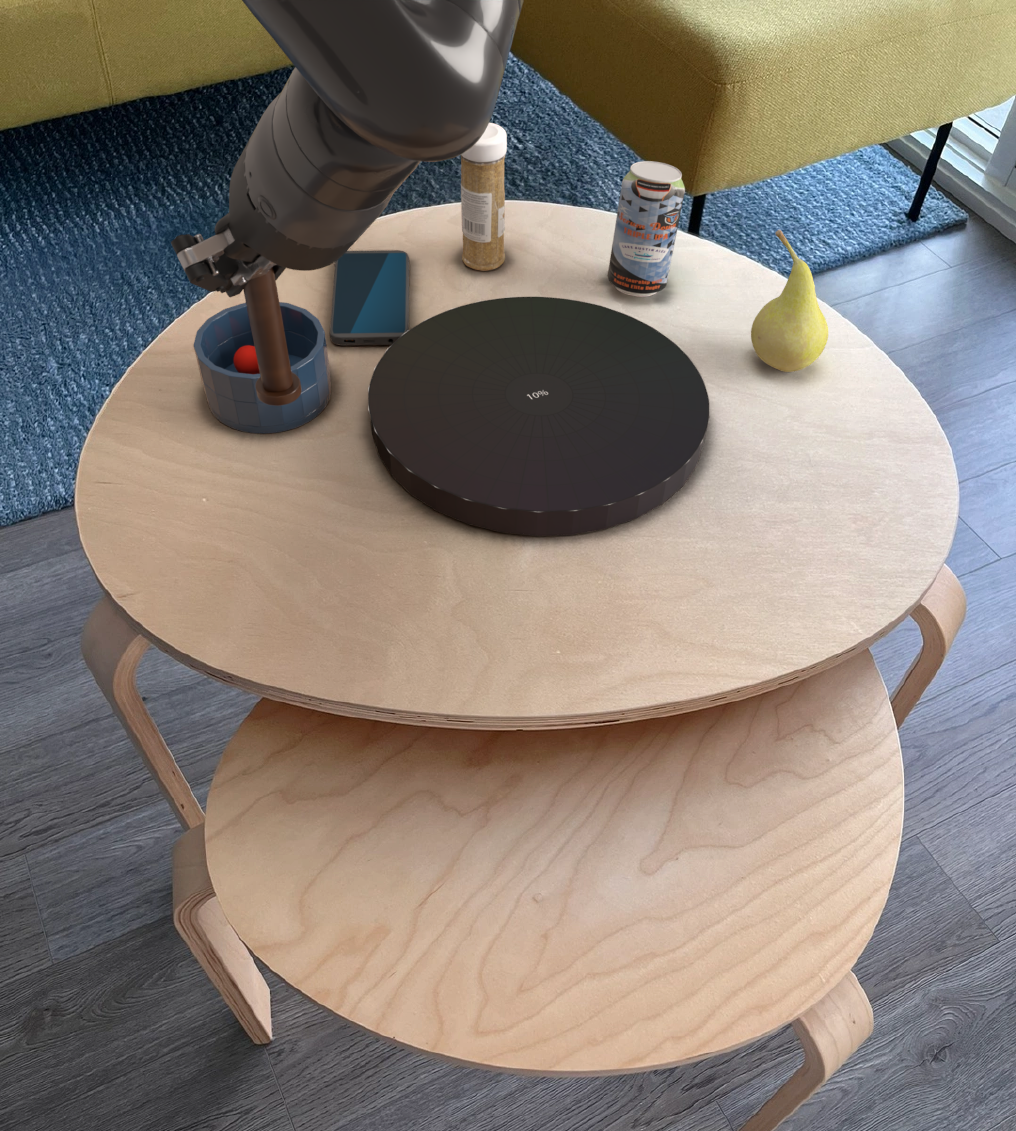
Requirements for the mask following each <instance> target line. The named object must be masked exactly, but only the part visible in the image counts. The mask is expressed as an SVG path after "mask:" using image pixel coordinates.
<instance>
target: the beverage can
mask: <svg viewBox="0 0 1016 1131" xmlns="http://www.w3.org/2000/svg"><path fill="white" fill-rule="evenodd" d="M682 176H683V174H682V171H681V170H680V169H678V168H677V167H676V166H673V165H671V164H668V163H665V162H659V161H653V160H652V161H651V160H643V161H637V162H635V163H633V164H631V165H630V168H629V171H628V172H627V173H626V175H624V176H623V179H622V181H621V186H620V193H619V200H618V205H617V212H616V218H615V225H614V232H613V239H612V245H611V251H610V257H609V262H608V271H607V280H608V281H609V282H610V284H611V285H613V286H614V288H615V289H616V290H617V291H619V292H620V293H622V294H624V295H628V296H631V297H640V298H642V297H643V298H645V297H650V296H654V295H656V294H657V293H659V292H661V291H663V290H664V289H665V288H666V287H667V284H668V279H669V274H670V269H671V264H672V259H673V254H674V248H675V243H676V238H677V233H678V228H679V224H680V218H681V213H682V208H683V202H684V197H685V191H686V187H685V184H684V182H683V180H682Z"/></svg>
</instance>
